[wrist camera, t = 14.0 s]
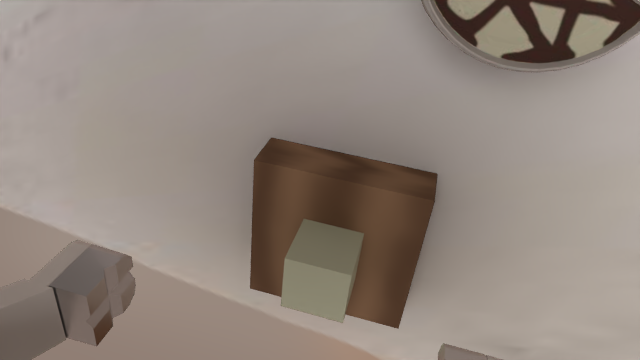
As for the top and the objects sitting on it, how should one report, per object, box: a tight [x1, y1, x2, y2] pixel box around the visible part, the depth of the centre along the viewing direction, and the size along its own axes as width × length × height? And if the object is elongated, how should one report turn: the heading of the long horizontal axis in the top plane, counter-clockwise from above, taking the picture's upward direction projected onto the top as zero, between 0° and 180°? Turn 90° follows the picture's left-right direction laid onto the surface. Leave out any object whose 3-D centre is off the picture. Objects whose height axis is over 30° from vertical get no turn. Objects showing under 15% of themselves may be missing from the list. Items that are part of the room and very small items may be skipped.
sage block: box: [281, 219, 364, 323], centre depth 38 cm, size 5×5×5 cm
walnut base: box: [250, 138, 437, 328], centre depth 42 cm, size 14×14×4 cm
